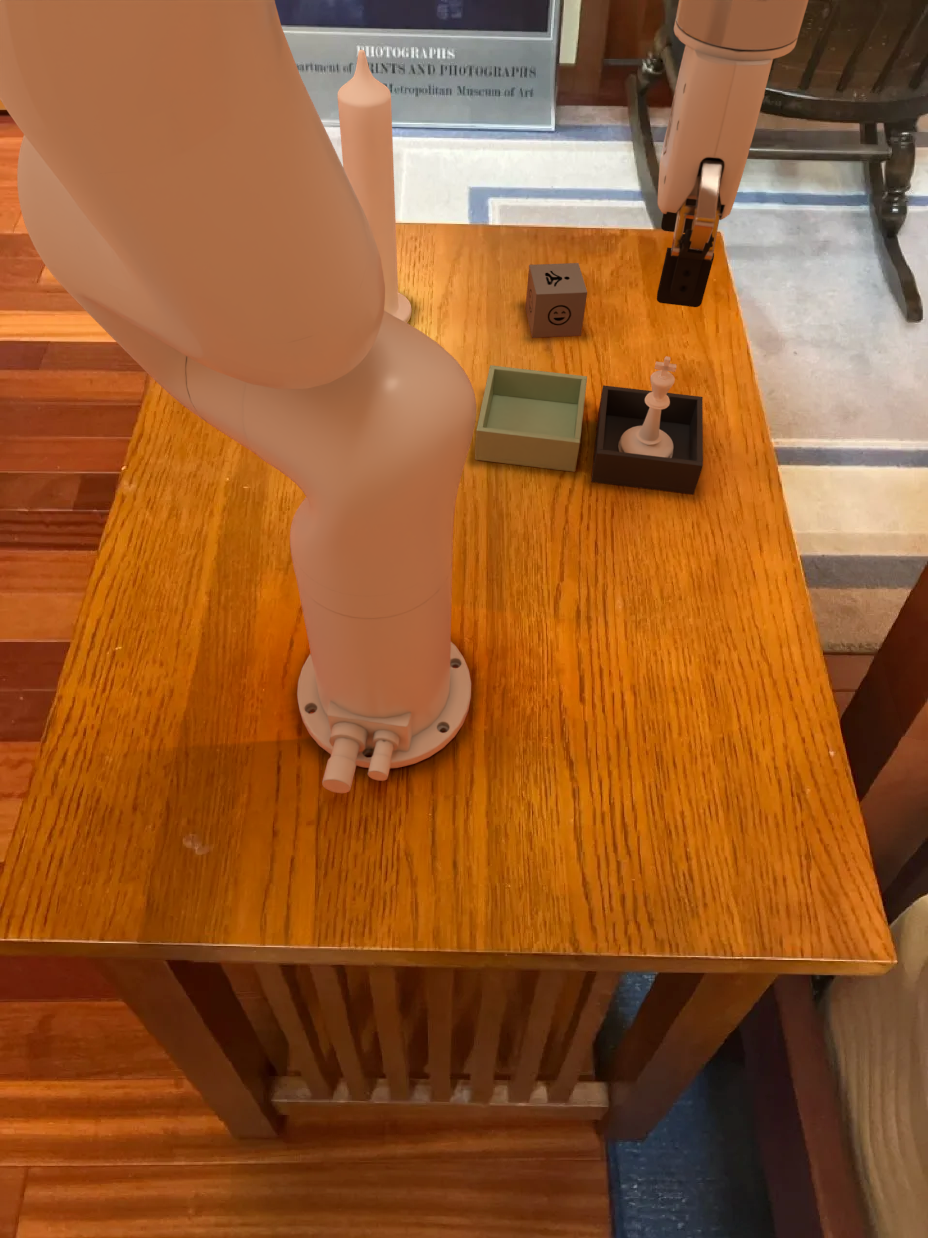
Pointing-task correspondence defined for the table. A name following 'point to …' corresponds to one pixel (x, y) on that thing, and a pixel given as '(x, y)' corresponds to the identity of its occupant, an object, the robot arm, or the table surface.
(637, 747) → the table surface
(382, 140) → the candle
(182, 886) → the table surface
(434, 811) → the table surface
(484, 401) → the sage bin
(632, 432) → the chess piece
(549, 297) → the dice cube
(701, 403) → the charcoal bin
